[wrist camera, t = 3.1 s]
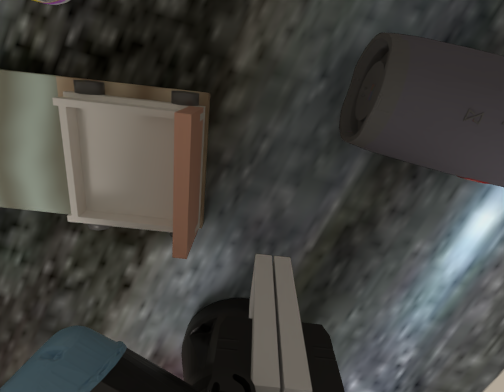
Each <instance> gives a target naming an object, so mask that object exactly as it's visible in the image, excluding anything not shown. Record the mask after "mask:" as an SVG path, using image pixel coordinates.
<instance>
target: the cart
mask: <svg viewBox="0 0 504 392" xmlns="http://www.w3.org/2000/svg"><path fill="white" fill-rule="evenodd" d="M73 83H74V91H64V92H63V97H54V98H52V99H53V105H55V106H58V108H59V117H60V125H61V133H62V141H63V150H64V158H65V166H66V174H67V183H68V191H69V199H70V207H71V213H70V214H69V215H68V216H67V217H68V221H69V222H78V223H88V227H89V228H90V229H92V230H105V229H108V228H110V227H112V226H116V227H126V228H135V229H144V230H154V231H163V232H170V235H171V236H172V237H173V258H182V259H187V257H188V254H189V252H190V249H191V247H192V244H193V242H194V239H195V237H196V234H197V232H198V229H199V227H200V207H201V187H202V167H203V146H204V126H205V106H199V93H195V92H188V91H171V102H162V101H154V100H145V99H136V98H127V97H118V96H109V95H105V85H104V82H100V81H91V80H73Z"/></svg>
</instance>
